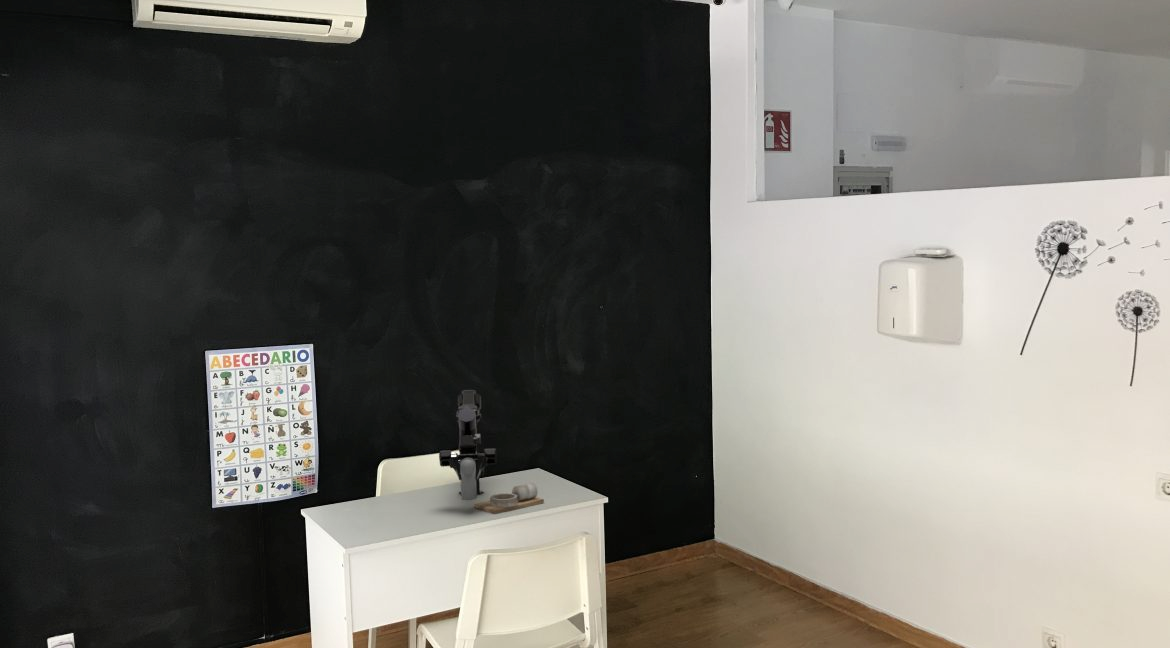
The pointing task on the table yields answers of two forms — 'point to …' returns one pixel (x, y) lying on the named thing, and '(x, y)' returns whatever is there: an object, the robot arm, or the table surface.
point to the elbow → (468, 479)
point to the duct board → (512, 499)
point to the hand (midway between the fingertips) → (468, 479)
